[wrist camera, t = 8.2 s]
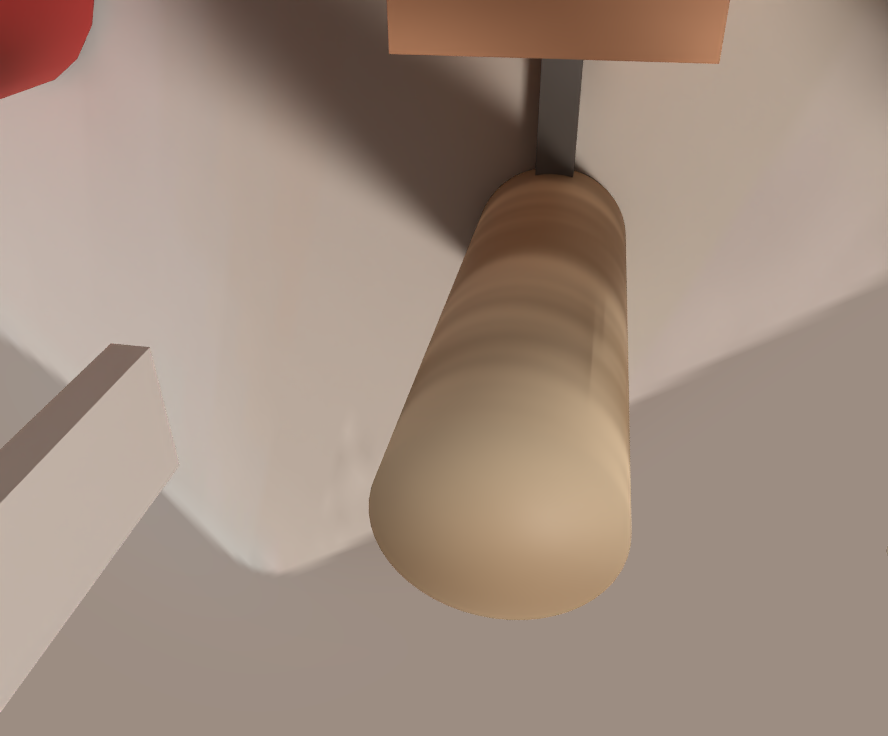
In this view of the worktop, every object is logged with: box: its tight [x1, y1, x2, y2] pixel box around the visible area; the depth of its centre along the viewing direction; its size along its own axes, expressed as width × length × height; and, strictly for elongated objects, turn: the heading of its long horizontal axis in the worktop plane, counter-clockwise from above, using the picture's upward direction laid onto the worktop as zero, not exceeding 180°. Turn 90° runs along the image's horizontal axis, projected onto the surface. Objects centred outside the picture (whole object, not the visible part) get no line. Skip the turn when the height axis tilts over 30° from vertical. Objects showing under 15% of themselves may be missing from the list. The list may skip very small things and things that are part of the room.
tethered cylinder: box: [369, 0, 730, 620], centre depth 15 cm, size 14×6×12 cm, turn 0°
